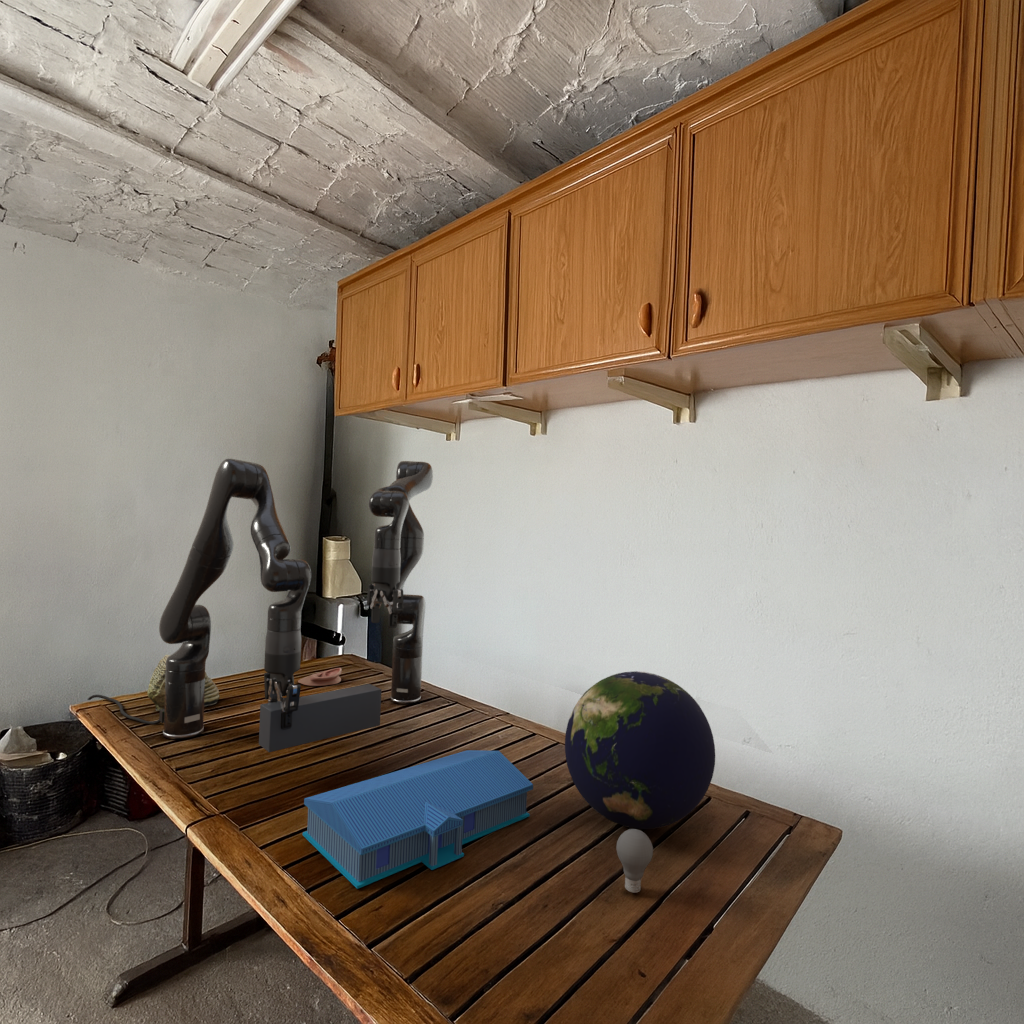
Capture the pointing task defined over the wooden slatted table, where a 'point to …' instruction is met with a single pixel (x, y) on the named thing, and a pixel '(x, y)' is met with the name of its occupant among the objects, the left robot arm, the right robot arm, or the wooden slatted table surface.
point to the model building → (416, 814)
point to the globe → (640, 750)
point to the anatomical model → (322, 678)
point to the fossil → (158, 687)
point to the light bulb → (634, 857)
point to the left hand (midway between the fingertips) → (280, 724)
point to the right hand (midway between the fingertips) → (383, 625)
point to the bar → (321, 717)
